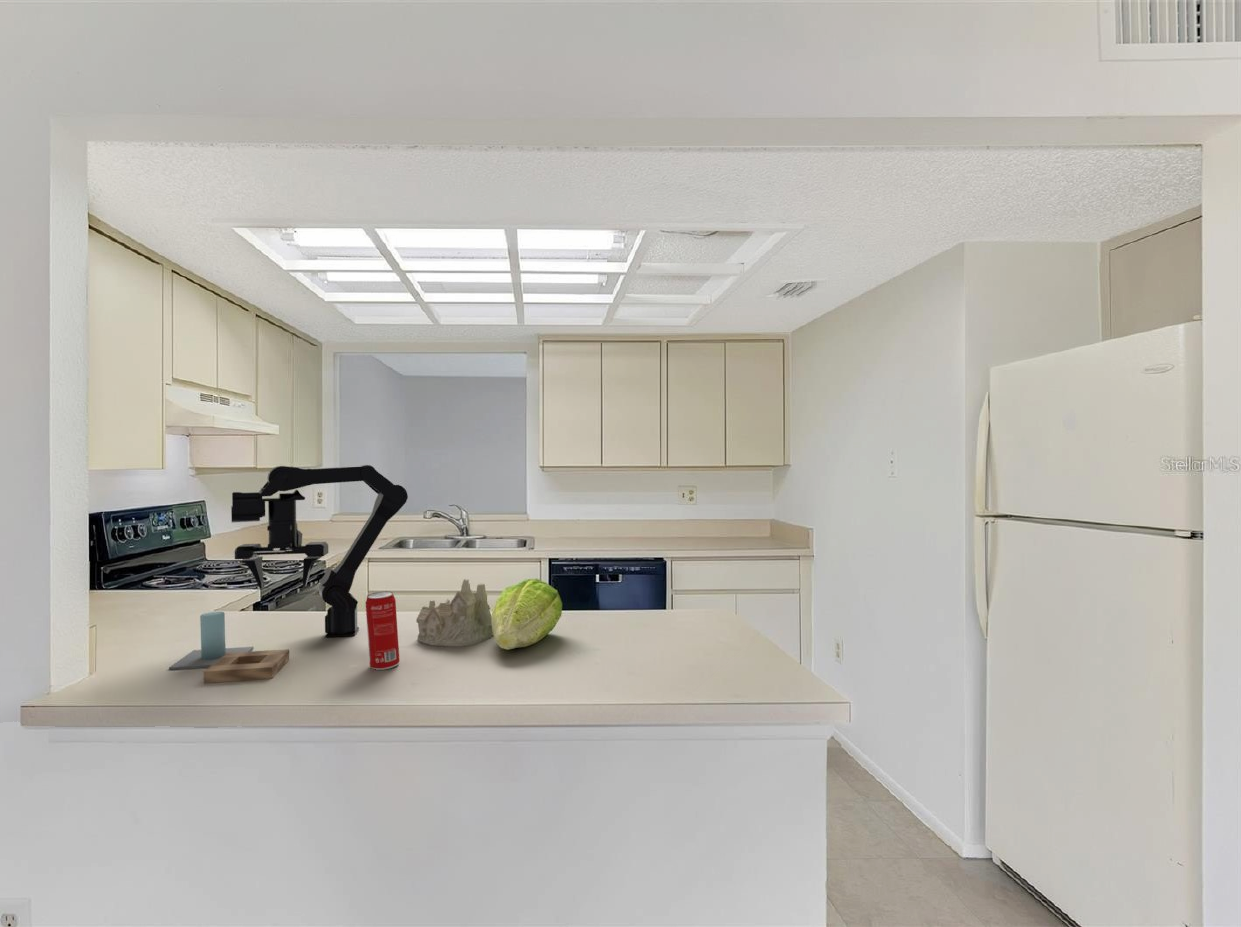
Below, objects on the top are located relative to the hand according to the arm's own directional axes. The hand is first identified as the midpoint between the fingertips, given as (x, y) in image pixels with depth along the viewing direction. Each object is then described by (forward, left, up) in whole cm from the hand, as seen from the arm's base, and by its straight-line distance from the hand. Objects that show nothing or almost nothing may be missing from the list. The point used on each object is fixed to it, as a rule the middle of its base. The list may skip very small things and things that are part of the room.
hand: (283, 587), depth 155 cm
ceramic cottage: (-39, +4, -13) cm, 42 cm away
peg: (+11, +11, -12) cm, 20 cm away
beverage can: (-25, +24, -13) cm, 37 cm away
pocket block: (+1, +21, -12) cm, 24 cm away
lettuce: (-54, +14, -13) cm, 57 cm away
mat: (+11, +11, -12) cm, 20 cm away
